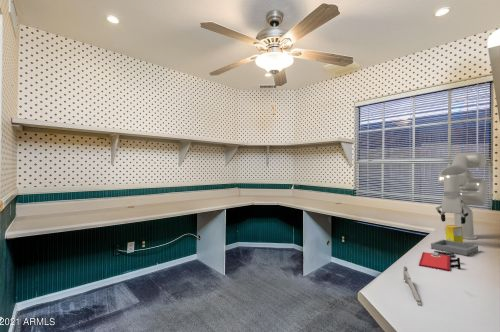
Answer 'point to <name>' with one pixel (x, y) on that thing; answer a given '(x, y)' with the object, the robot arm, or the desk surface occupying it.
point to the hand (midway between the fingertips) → (453, 222)
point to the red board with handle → (439, 260)
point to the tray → (454, 247)
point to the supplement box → (454, 233)
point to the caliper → (411, 285)
